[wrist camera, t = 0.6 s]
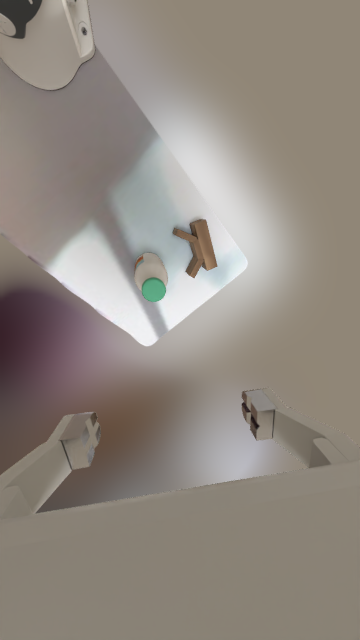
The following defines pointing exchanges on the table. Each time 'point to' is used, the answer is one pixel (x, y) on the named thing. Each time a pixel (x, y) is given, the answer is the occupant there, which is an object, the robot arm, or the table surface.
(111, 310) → the table surface
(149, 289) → the milk bottle
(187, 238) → the cradle
